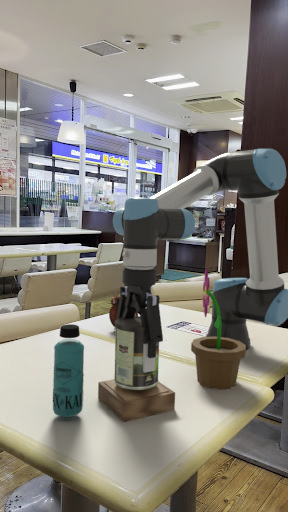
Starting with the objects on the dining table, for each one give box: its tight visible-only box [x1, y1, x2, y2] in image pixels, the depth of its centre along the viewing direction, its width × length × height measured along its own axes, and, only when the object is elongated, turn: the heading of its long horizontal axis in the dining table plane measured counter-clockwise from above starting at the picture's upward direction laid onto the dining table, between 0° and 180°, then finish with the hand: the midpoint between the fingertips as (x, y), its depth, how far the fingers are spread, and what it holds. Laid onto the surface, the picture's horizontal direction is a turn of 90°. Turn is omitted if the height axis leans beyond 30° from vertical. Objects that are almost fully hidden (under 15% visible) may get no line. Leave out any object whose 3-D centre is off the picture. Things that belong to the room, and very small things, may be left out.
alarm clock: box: [108, 291, 139, 330], centre depth 159 cm, size 11×5×15 cm, turn 58°
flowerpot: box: [190, 268, 247, 390], centre depth 112 cm, size 14×14×30 cm
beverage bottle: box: [51, 324, 85, 418], centre depth 90 cm, size 6×7×20 cm
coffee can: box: [113, 315, 160, 390], centre depth 97 cm, size 10×10×14 cm
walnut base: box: [97, 378, 176, 423], centre depth 98 cm, size 13×13×4 cm
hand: (136, 363), depth 97 cm, fingers closed on coffee can, 10 cm apart
